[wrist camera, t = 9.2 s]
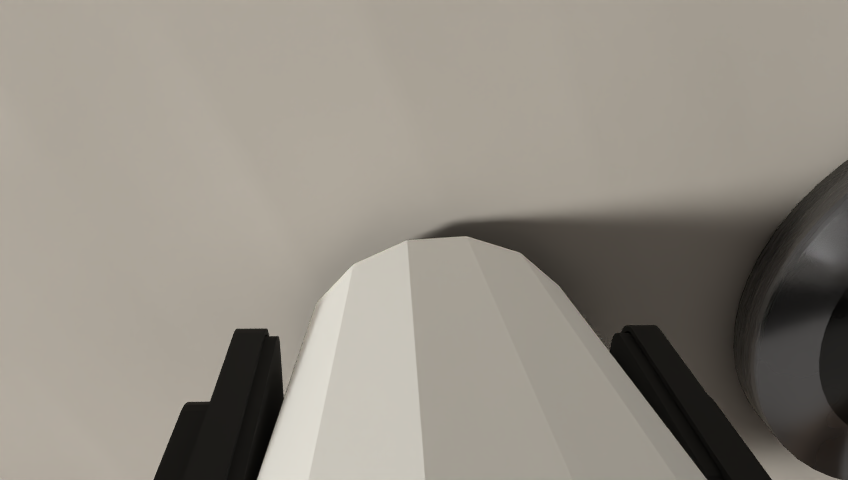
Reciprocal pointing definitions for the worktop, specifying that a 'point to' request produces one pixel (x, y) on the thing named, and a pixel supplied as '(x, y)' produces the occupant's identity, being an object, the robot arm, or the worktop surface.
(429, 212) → the worktop surface
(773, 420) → the dark grey round dish
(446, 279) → the white cup
